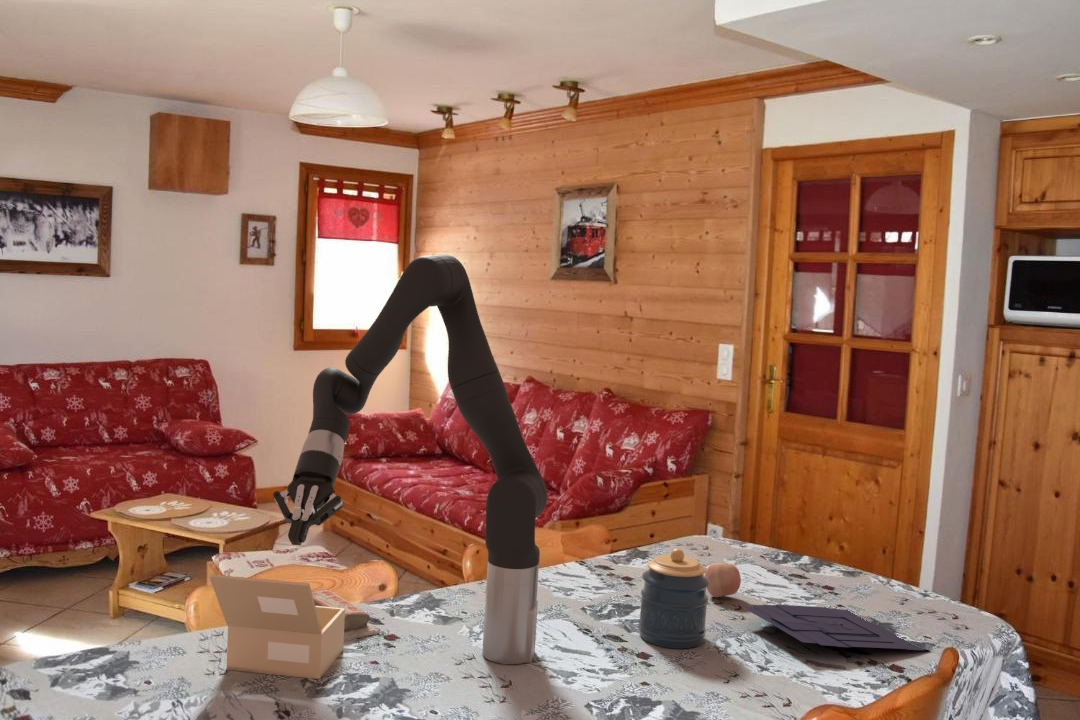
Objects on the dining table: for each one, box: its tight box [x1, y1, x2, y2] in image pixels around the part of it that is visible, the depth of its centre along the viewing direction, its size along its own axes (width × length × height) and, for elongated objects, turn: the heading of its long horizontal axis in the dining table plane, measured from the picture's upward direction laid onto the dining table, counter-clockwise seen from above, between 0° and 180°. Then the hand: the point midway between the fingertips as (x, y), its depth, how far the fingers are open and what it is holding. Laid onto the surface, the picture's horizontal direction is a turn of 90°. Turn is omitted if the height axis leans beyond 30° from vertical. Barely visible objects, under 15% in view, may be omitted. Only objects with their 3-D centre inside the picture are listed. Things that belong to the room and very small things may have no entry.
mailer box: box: [225, 606, 345, 680], centre depth 168 cm, size 16×13×8 cm
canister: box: [638, 548, 709, 649], centre depth 190 cm, size 13×13×18 cm
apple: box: [704, 562, 742, 599], centre depth 217 cm, size 8×8×8 cm
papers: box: [740, 603, 924, 651], centre depth 197 cm, size 24×30×4 cm
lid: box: [209, 574, 322, 634], centre depth 157 cm, size 16×13×1 cm
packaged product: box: [311, 588, 381, 642], centre depth 187 cm, size 18×5×10 cm
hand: (295, 542), depth 169 cm, fingers closed
